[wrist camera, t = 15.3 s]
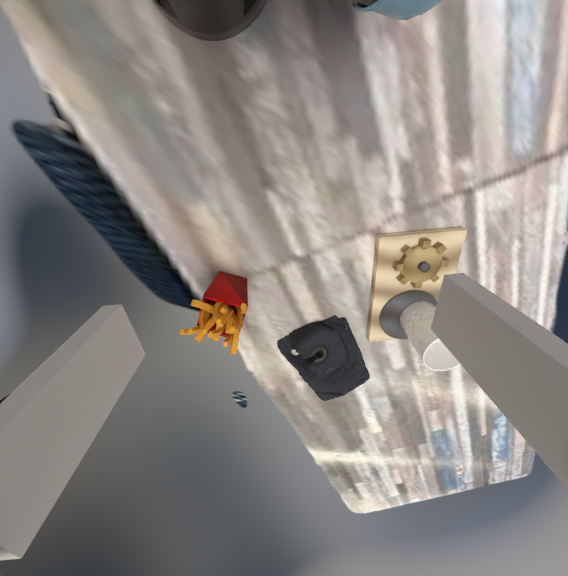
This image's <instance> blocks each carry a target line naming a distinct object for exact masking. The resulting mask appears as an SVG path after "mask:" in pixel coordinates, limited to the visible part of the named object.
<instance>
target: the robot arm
mask: <svg viewBox="0 0 568 576" xmlns="http://www.w3.org/2000/svg"><path fill="white" fill-rule="evenodd" d="M152 1H153V2H154V3H155V4H156V6H157V7H158V8H159V9H160V11H161V12H162V13H163V14H164V15H165V16H166V17H167V18H168V19H169V20H170V21H171V22H172V23H173V24H174V25H176V26H177V27H178V28H180V29H181V30H183V31H184V32H186V33H188V34H190V35H192V36H195V37H197V38H201V39H205V40H223V39H227V38H230V37H233V36H235V35H237V34H239V33H240V32H242V31H243V30H245V29H246V28H247V27H248V26H249V25H250V24H251V23H252V22H253V21H254V20H255V18H256V17H257V16H258V14H259V13H260V11H261V10H262V8H263V6H264V4H265V2H266V0H152ZM347 1H349V2H352V3H353V7H354V8H356V9H358V10H360V11H374V12H377V13H380V14H383V15H386V16H389V17H392V18H394V19H398V20H407V19H410V18H412V17H415V16H417V15H421V14H423V13H425V12H427V11H428V10H430V9H431V8H432V7H434V6H435V5H436V4H438V3H439V2H440V1H441V0H347ZM431 330H432V331H433V332H434V333H435V335H436V336H437V337H438V338H439V339H440V340H441V342H442V343H443V344H444V345H445V346H446V347H447V349H448V350H449V351H450V352H451V353H452V354H453V356H454V357H455V358H456V359H457V360H458V361H459V363H460V364H461V365H462V366H463V367H464V368H465V370H466V371H467V372H468V373H469V374H470V376H471V377H472V378H473V379H474V380H475V381H476V383H477V384H478V385H479V386H480V387H481V388H482V390H483V391H484V392H485V393H486V394H487V395H488V397H489V398H490V399H491V400H492V401H493V402H494V404H495V405H496V406H497V407H498V408H499V409H500V411H501V412H502V413H503V414H504V415H505V416H506V418H507V419H508V420H509V421H510V422H511V423H512V425H513V426H514V427H515V428H516V429H517V431H518V432H519V433H520V434H521V435H522V436H523V438H524V439H525V440H526V441H527V442H528V443H529V445H530V446H531V447H532V448H533V449H534V450H535V452H536V453H537V454H538V455H539V456H540V457H541V459H542V460H543V461H544V462H545V463H546V464H547V466H548V467H549V468H550V469H551V470H552V471H553V473H554V474H555V475H556V476H557V477H558V478H559V480H560V481H561V482H562V483H563V484H564V485H565V487H566V488H567V489H568V341H563V340H561V339H560V338H558V337H557V336H556V335H554V334H553V333H551V332H550V331H548V330H547V329H545V328H544V327H542V326H541V325H539V324H538V323H536V322H535V321H533V320H532V319H530V318H529V317H527V316H526V315H524V314H523V313H522V312H520V311H519V310H517V309H516V308H514V307H513V306H511V305H510V304H508V303H507V302H505V301H504V300H502V299H501V298H499V297H498V296H496V295H495V294H493V293H492V292H490V291H489V290H488V289H486V288H485V287H483V286H482V285H480V284H479V283H477V282H476V281H474V280H473V279H471V278H470V277H468V276H467V275H465V274H464V273H459V274H448V275H444V278H443V281H442V285H441V289H440V293H439V297H438V301H437V305H436V309H435V313H434V317H433V321H432V325H431ZM144 356H145V352H144V350H143V348H142V346H141V344H140V342H139V340H138V338H137V336H136V333H135V332H134V329H133V327H132V325H131V323H130V321H129V319H128V317H127V315H126V313H125V311H124V308H123V306H122V305H121V304H120V305H109V306H103V307H102V308H100V309H99V310H98V311H97V313H95V314H94V315H93V316H92V317H91V318H90V319H89V320H88V321H87V322H86V323H85V324H84V325H83V326H81V327H80V328H79V330H77V331H76V332H75V333H74V334H73V335H72V336H71V337H70V338H69V339H68V340H67V341H66V342H65V343H64V344H63V345H62V346H60V347H59V348H58V349H57V350H56V351H55V352H54V353H53V354H52V355H51V356H50V357H49V358H48V359H47V360H46V361H45V362H44V363H43V364H42V365H41V366H39V367H38V368H37V369H36V370H35V371H34V372H33V373H32V374H31V375H30V376H29V377H28V378H27V379H26V380H25V381H24V382H23V383H22V384H20V386H18V387H17V388H16V389H15V390H14V391H13V392H12V393H11V394H9V395H8V396H6V397H5V398H3V399H2V400H0V560H7V559H20V558H22V556H23V555H24V553H25V552H26V550H27V548H28V546H29V545H30V543H31V541H32V540H33V538H34V537H35V535H36V533H37V532H38V530H39V528H40V527H41V525H42V524H43V522H44V520H45V519H46V517H47V515H48V514H49V512H50V510H51V509H52V507H53V505H54V504H55V502H56V501H57V499H58V497H59V496H60V494H61V492H62V490H63V489H64V487H65V486H66V484H67V482H68V481H69V479H70V478H71V476H72V474H73V473H74V471H75V469H76V468H77V466H78V464H79V463H80V461H81V459H82V458H83V456H84V455H85V453H86V451H87V450H88V448H89V446H90V445H91V443H92V441H93V440H94V438H95V436H96V435H97V433H98V431H99V430H100V428H101V426H102V425H103V423H104V421H105V420H106V418H107V417H108V415H109V413H110V412H111V410H112V408H113V406H114V405H115V403H116V402H117V400H118V398H119V397H120V395H121V394H122V392H123V390H124V389H125V387H126V385H127V384H128V382H129V380H130V379H131V377H132V376H133V374H134V372H135V371H136V369H137V367H138V366H139V364H140V362H141V361H142V359H143V357H144Z"/></svg>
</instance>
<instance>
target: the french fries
mask: <svg viewBox="0 0 568 576" xmlns="http://www.w3.org/2000/svg"><path fill="white" fill-rule="evenodd" d="M191 306H194V307H198V308H201V309H200V314H199V319H198V323H197V327H194V328H191V329H182V330H180V334H181V335H188V334H190V335H191V334H196V333H198V332H199V333H198V335H197V337H196V338H195V340H197V341H199V342H201V341H202V339H203V338H204V336H205V335H206V333H208V335H207V336H208V337H209V338H210V339H211V338H213V341H217V342H218V340H219V336H224V337H227V338H226V339H225V341H224V346H225V347H228V346H229V344H230V343H231V341H232V343H231V349H230V353H231V354H236V352H237V346H238V339H239V332H240V329H241V328H242V326H243V320H244V317H245V313H246V311H247V309H248V298H247V279H246V278H242V277H239V276H235V275H232V274H228V273H224V272H221V271H220V272H219V274H218V275H217V277H216V278H215V280H214V281H213V282H212V284H211V285H210V287H209V288H208V290H207V291H206V293H205V294H204V295H203V300H202V302H201V301H198V300H192V303H191Z"/></svg>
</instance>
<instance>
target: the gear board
mask: <svg viewBox="0 0 568 576" xmlns="http://www.w3.org/2000/svg"><path fill="white" fill-rule="evenodd" d="M466 232H467V229H465V228H463V227H455V228H444V229H433V230H422V231H411V232H400V233H390V234H379V235H377V237H376V247H375V257H374V267H373V277H372V287H371V297H370V307H369V317H368V327H367V339H368V341H369V342H372V341H384V340H395V339H407V338H408V337H407V335H406V332H405V331H404V329H403V327H402V326H401V324H400V316H401V313H402V311H403V310H404V309H405V308H406V307H407V306H408V305H410V304H412V303H415V302H419V301H426V302H429V303H432V304H433V305H434V306H435V307H436V305H437V301H438V297H439V293H440V289H441V285H442V281H443V278H444V275H448V274H455V272H456V268H457V264H458V261H459V257H460V254H461V250H462V247H463V243H464V239H465V236H466Z"/></svg>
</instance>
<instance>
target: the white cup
mask: <svg viewBox="0 0 568 576" xmlns="http://www.w3.org/2000/svg"><path fill="white" fill-rule="evenodd" d="M435 309H436V307H435V306H434V305H433V304H432V303H429V302H426V301H419V302H415V303H412V304H410V305H408V306H407V307H406V308H405V309H404V310H403V311H402V313H401V316H400V324H401V326H402V327H403V329H404V331H405V332H406V335H407V337H408V338H409V340H410V342H411V343H412V345H413V347H414V348H415V350H416V352H417V353H418V355H419V356H420V358H421V360H422V361H423V363H424V364H425V366H426V367H427V368H429V369H431V370H434V371H446V370H451V369H454V368H456V367H458V366H460V365H461V364H460V363H459V361H458V360H457V359H456V358H455V357H454V356H453V354H452V353H451V352H450V351H449V350H448V349H447V347H446V346H445V345H444V344H443V343H442V342H441V340H440V339H439V338H438V337H437V336H436V335H435V333H434V332H433V331H432V330H431V325H432V321H433V317H434V313H435Z"/></svg>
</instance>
